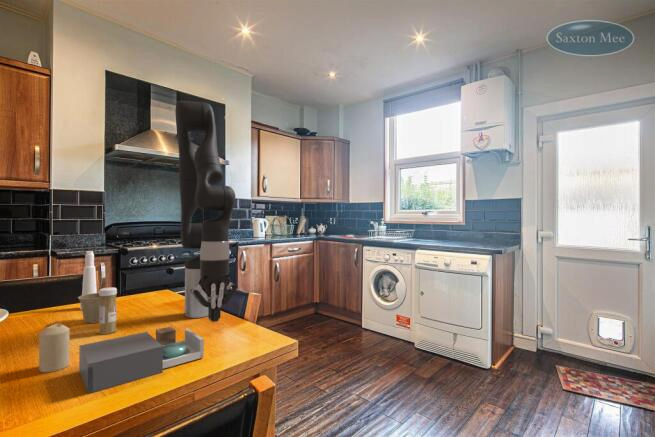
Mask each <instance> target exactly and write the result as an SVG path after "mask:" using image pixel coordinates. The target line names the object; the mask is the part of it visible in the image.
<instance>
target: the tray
mask: <svg viewBox="0 0 655 437" xmlns="http://www.w3.org/2000/svg"><path fill="white" fill-rule="evenodd" d="M204 341H205V340H204V338H203V337H201V336H200V335H198V334H197V333H195V332H194V331H192V330H190V329H189V328H185V329H184V340H180V341H176V342H175V343H185V344H186V353H185V354H184V355H182V356H179V357H175V358H163V370H164V369H166V368H167V369H168V368H171V367H174V366H177V365H182V364H184V363H188V362H191V361H195V360H199V359H202V358H204V350H205V349H204V345H205V342H204ZM163 346H164V345H163Z"/></svg>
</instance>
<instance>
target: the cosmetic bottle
mask: <svg viewBox="0 0 655 437" xmlns="http://www.w3.org/2000/svg"><path fill="white" fill-rule="evenodd" d="M84 256H85V258H84V260H85V262H84V265H85V266H83V275H82V276H83V277H82V289H81V290H82V291H81V296H82V295H86V294H92V293H98V292H97V291H98V290H97V288H98V287H97V271H96V266H95V254H94V251H93V250H90V251H89V250H87V251H86V252H85V254H84ZM79 310H81V311H82V306H81V304H80V306H79Z"/></svg>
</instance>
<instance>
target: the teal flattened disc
mask: <svg viewBox="0 0 655 437" xmlns="http://www.w3.org/2000/svg"><path fill="white" fill-rule="evenodd" d="M185 353H186V344H185V343H170V344H166V345H164V346H163V358H175V357H179V356H182V355H184V354H185Z"/></svg>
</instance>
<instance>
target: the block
mask: <svg viewBox="0 0 655 437" xmlns="http://www.w3.org/2000/svg"><path fill="white" fill-rule="evenodd" d="M176 331H177V330H176V329H175V328H174V327H173V326H168V327H167V326H166V327H163V328H158V329H155V340H156V341H158V342H159V343H160V344H161V345H162V346H163V345H166V344H170V343H175V342H177V341H176V333H177V332H176Z"/></svg>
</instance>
